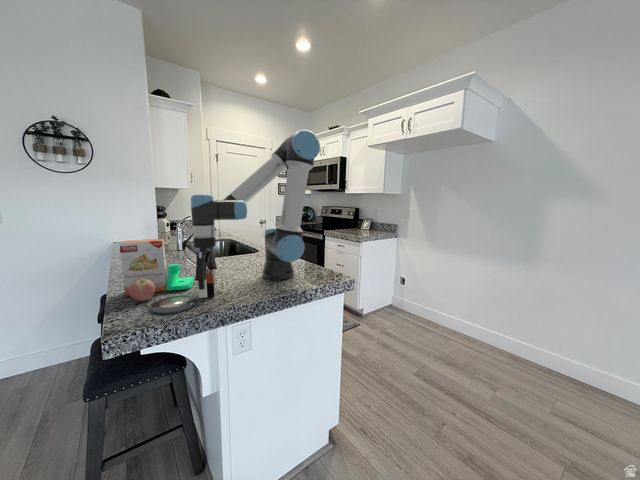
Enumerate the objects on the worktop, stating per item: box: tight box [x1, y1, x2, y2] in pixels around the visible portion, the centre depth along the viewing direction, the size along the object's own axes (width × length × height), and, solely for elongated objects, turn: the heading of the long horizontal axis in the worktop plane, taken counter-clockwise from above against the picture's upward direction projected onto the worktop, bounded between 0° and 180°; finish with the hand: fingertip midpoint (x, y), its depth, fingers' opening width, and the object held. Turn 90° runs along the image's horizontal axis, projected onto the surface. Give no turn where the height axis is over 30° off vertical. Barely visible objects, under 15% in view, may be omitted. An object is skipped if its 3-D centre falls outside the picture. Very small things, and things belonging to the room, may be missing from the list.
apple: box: [129, 279, 156, 302], centre depth 96 cm, size 8×8×8 cm
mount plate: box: [150, 294, 198, 316], centre depth 92 cm, size 14×14×1 cm
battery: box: [200, 268, 215, 299], centre depth 101 cm, size 4×7×10 cm, turn 22°
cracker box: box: [119, 238, 168, 297], centre depth 104 cm, size 14×6×21 cm, turn 115°
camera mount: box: [167, 263, 195, 291], centre depth 111 cm, size 12×8×10 cm, turn 14°
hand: (207, 291), depth 102 cm, fingers open, 13 cm apart
